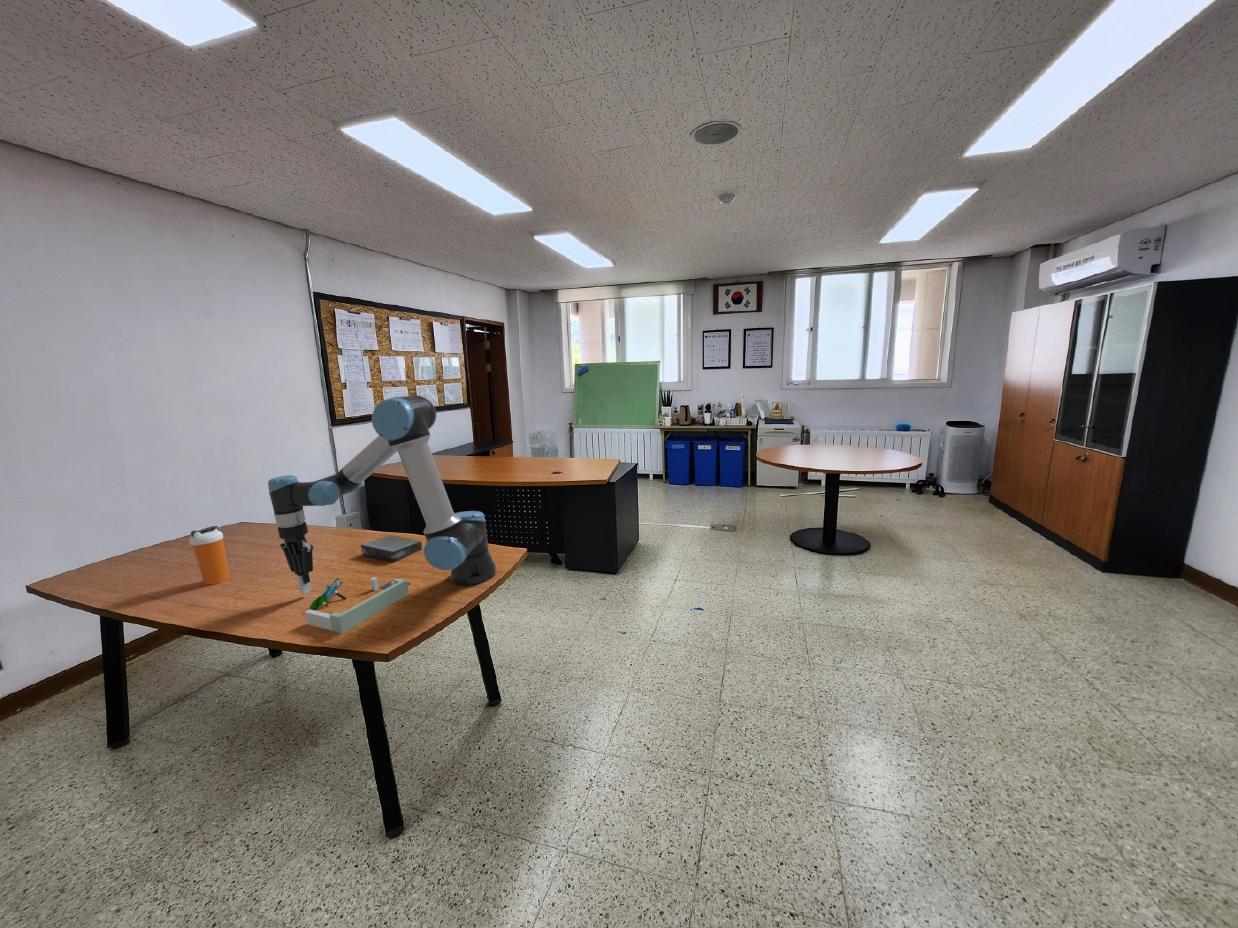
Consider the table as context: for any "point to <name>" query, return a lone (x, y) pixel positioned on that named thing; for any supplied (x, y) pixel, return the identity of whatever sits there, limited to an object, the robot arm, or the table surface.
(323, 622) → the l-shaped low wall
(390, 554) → the stone block
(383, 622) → the table surface
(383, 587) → the trap mat
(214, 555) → the shaker bottle
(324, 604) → the stick construction toy
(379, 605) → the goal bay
